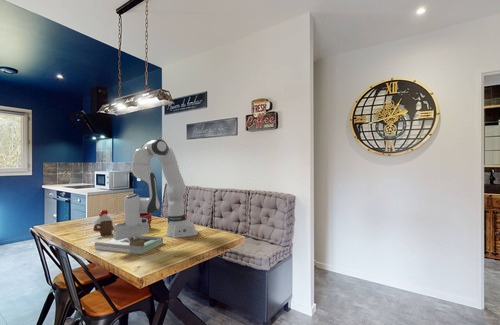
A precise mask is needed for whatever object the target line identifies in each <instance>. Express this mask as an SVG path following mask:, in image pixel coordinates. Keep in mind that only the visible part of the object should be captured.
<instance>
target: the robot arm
mask: <svg viewBox="0 0 500 325" xmlns="http://www.w3.org/2000/svg"><path fill="white" fill-rule="evenodd" d="M154 157H158V159H159V161H160V166H161V169H162V171H163V177H164V178H165V181H166V183H167V185H166V196H167V198H166V199H167V202H168V203H167V204H168V208H167V209H168V211H167V212H168V215H167V229H166V234H165V236H166V237H168V238H169V237H171V238H173V239H177V238H178V239H179V238H184V237H193V236H197V235H198V234H199V231H198V230H197V229H196V227H195V224H194V223H193V222H192V221H190V220H189V219H188V215H187V214H185V202H184V198H183V196H184V195H185V194H186V192H187V186H186V184H185V181H184V179H183V176H182V174H181V171H180V167H179V165H178V161H177V158H176V155H175V153H174V151H173V149H172V148H171V147H169V146H168V144H167V142H166V141H165V140H164V139H160V138H157V139H153V140H150V141H148V142H145V143H144V144H143V145H142V146H141V147H140V148H137V149H135V150H134V153H133V156H132V160H131V161H132V162H131V173H132V174H133V176H134V177H135V178H136V179H139V180H142V181H144V182H146V183H147V185H148V189H149V191H148V192H149V197H140V195H139V194H138V193H130V194H127V195H125V197H124V202H123V212H124V214H123V222H122V223H116V224H115V225H113V235H112V236H113V237H112V239H115V240H121V239H126V238H127V240H128V241H129V245H130V239H131V237H134V239H137V236H139V235H147V234H149V233H150V228H149V224H148V223H147V222H148V219H146V218H142V217H140V213H151V215H152V214H155V213H157V212H158V211H159V210H160V206H161V205H160V204H161V202H160V199H159V195H158V192H159V191H158V185H157V179H156V175H155V173H154V172H152V170H151V160H152V158H154Z"/></svg>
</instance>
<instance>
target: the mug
mask: <svg viewBox="0 0 500 325" xmlns="http://www.w3.org/2000/svg"><path fill="white" fill-rule="evenodd" d="M112 221H113V220H112ZM112 221H102V222H100V224H96V225H95V226H94V225H93V227H94V229H95V230H96V231H95V232H100V233H99V234H100V236H101V237H103V236H104V237H105V236H110V235H112V234H113V229H112ZM97 226H100V228H97Z"/></svg>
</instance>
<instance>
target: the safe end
mask: <svg viewBox="0 0 500 325" xmlns="http://www.w3.org/2000/svg"><path fill="white" fill-rule="evenodd" d="M162 244H164V239H163V240H162V238H160V239H158V240H150V241H148V242H145V243H144V246H143V247H142V251H139V250H130V253H129V254H137V255H142V254H143V255H144V254H145V253H146V252H149V251H150V250H153V249H155V248H156V247H159V246H162Z"/></svg>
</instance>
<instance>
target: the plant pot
mask: <svg viewBox="0 0 500 325" xmlns="http://www.w3.org/2000/svg"><path fill="white" fill-rule="evenodd" d="M140 217H142V218H146V219H148V222H147V223H148V224H149V229H150V228H151V227H152V225H151V223H152V214H151V213H140Z"/></svg>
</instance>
